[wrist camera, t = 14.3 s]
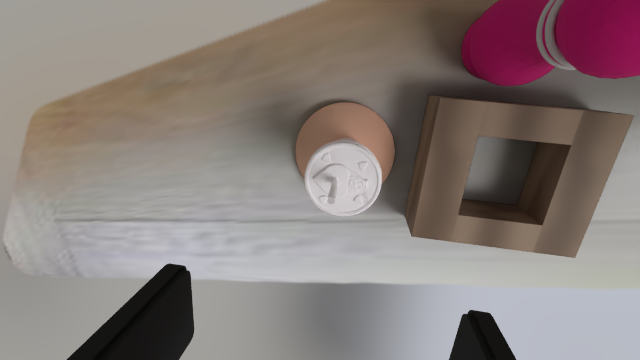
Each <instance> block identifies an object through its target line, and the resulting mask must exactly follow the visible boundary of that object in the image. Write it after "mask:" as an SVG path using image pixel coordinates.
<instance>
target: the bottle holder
mask: <svg viewBox="0 0 640 360" xmlns="http://www.w3.org/2000/svg"><path fill="white" fill-rule="evenodd" d="M633 117H634V115H628V114H620V113H612V112H605V111H597V110H589V109H578V108H567V107H556V106H545V105H534V104H523V103H512V102H501V101H490V100H479V99H468V98H457V97H446V96H435V95H428V98H427V103H426V108H425V113H424V118H423V124H422V129H421V134H420V139H419V144H418V150H417V155H416V160H415V165H414V170H413V176H412V181H411V186H410V191H409V196H408V202H407V207H406V212H405V218H406V221H407V224H408V227H409V230H410V233H411V236H412V237H420V238H428V239H435V240H443V241H451V242H458V243H466V244H474V245H481V246H489V247H497V248H504V249H512V250H520V251H527V252H535V253H542V254H550V255H558V256H565V257H573V258H575V257H576V254H577V252H578V250H579V247H580V245H581V242H582V240H583V238H584V235H585V233H586V230H587V228H588V225H589V223H590V221H591V218H592V216H593V213H594V211H595V209H596V206H597V204H598V201H599V199H600V196H601V194H602V192H603V189H604V187H605V184H606V182H607V180H608V177H609V175H610V172H611V170H612V167H613V165H614V163H615V160H616V158H617V155H618V153H619V151H620V148H621V146H622V143H623V141H624V139H625V136H626V134H627V131H628V129H629V126H630V124H631V122H632V119H633ZM478 136H487V137H497V138H506V139H516V140H526V141H536V142H537V145H536V148H535V151H534V154H533V157H532V161H531V164H530V167H529V170H528V173H527V176H526V179H525V182H524V185H523V189H522V192H521V195H520V198H519V201H518V204H517V205H509V204H501V203H492V202H484V201H476V200H467V199H462V197H463V193H464V190H465V186H466V182H467V178H468V174H469V170H470V166H471V162H472V158H473V154H474V150H475V146H476V142H477V139H478Z"/></svg>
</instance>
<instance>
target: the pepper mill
mask: <svg viewBox="0 0 640 360" xmlns="http://www.w3.org/2000/svg"><path fill="white" fill-rule="evenodd" d="M461 51H462V60H463V63H464V65H465V67H466V68H467V70H468V71H469V72H470V73H471V74H472V75H474V76H475V77H477V78H480V79H483V80H486V81H488V82H490V83H493V84H496V85H501V86H515V85H522V84H526V83H529V82H532V81H534V80H536V79H538V78H540V77H542V76H544V75H545V74H547V73H548V72H550V71H551V70H552V69H553V68H555V67H557V68H560V69H564V70H578V71H580V72H582V73H584V74H588V75H592V76H596V77H599V78H613V79H616V78H626V77H632V76H638V75H640V0H499V1H498V2H496V3H495V4H493V5H492V6H491V7H490V8H489V9H488V10H486V12H485V13H484V14H483V15H482V16H481V17H480V18H479V19H477V20H476V21H475V22H474V23H473V24H472V25H471V27H470V28H469V29H468V31H467V33H466V34H465V37H464V40H463V43H462V49H461Z"/></svg>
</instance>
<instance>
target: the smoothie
mask: <svg viewBox="0 0 640 360" xmlns="http://www.w3.org/2000/svg"><path fill="white" fill-rule="evenodd" d="M381 184H382V171H381V168H380V164H379V162H378V160H377V159H376V157H375V155H374V154H373V153H372V152H371V151H370V150H369V149H368V148H367V147H365V146H363V145H361V144H360V143H359V142H358V141H357V140H355V139H353V138H350V137H344V138H340V139H338V140H337V141H333V142H330V143H327V144H325V145H324V146H322V147H320V148H319V149H318V150H317V151H316V152H315V153H314V154H313V155H312V156H311V158H310V160H309V162H308V164H307V167H306V171H305V187H306V191H307V193H308V195H309V197H310V199H311V200H312V201H313V203H314V204H315V205H316V206H317V207H319V208H320V209H321V210H323V211H325V212H327V213H329V214H332V215H337V216H351V215H355V214H358V213H360V212H362V211H364V210H366V209H367V208H368V207H370V206H371V205H372V204H373V203H374V201H375V200H376V198H377V197H378V195H379V192H380V189H381Z"/></svg>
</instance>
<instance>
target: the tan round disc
mask: <svg viewBox="0 0 640 360" xmlns="http://www.w3.org/2000/svg"><path fill="white" fill-rule="evenodd" d="M344 137H350V138H353V139H355V140H357V141H358V142H359V143H360V144H361V145H363V146H365V147H367V148H368V149H369V150H370V151H371V152H372V153H373V154H374V155H375V157H376V159H377V160H378V162H379V164H380V168H381V171H382V183H383V182H384V181H385V179H386V178H387V176H388V175H389V173H390V171H391V168H392V166H393V162H394V155H395V148H394V141H393V137H392V134H391V132H390V130H389V128H388V126H387V125H386V123H385V122H384V120H383V119H382V118H381V117H380V116H379V115H378V114H377V113H375V112H374V111H373V110H371V109H370V108H368V107H365V106H363V105H360V104H357V103H351V102H340V103H334V104H330V105H328V106H325V107H323V108H321V109H319V110H318V111H317V112H315V113H314V114H313V115H311V116H310V117H309V118H308V119H307V121H306V122H305V123H304V125H303V126H302V128H301V130H300V132H299V134H298V137H297V141H296V148H295V155H296V161H297V165H298V168H299V170H300V173H301V174H302V176H303V178H304V179H305V171H306V167H307V164H308V162H309V160H310V158H311V156H312V155H313V154H314V153H315V152H316V151H317V150H318V149H319V148H320V147H322V146H324V145H325V144H327V143H330V142H333V141H337V140H338V139H340V138H344Z"/></svg>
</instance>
